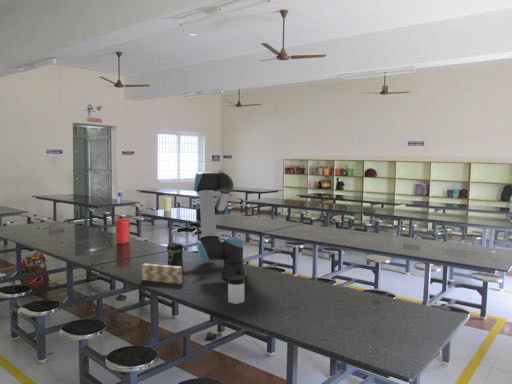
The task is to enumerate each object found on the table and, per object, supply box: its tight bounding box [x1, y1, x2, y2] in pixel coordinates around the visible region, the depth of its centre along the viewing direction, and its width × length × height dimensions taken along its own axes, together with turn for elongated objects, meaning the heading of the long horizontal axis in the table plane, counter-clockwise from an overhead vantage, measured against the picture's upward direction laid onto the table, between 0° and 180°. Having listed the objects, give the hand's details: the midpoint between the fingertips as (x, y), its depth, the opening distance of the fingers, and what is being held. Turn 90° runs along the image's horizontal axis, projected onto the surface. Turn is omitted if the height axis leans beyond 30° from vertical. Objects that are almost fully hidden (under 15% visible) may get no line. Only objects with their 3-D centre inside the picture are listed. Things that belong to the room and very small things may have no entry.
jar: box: [227, 275, 246, 305], centre depth 202 cm, size 9×8×12 cm
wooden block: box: [141, 262, 183, 285], centre depth 233 cm, size 24×3×9 cm, turn 73°
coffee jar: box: [166, 242, 184, 274], centre depth 247 cm, size 10×8×19 cm
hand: (182, 233), depth 255 cm, fingers open, 13 cm apart
